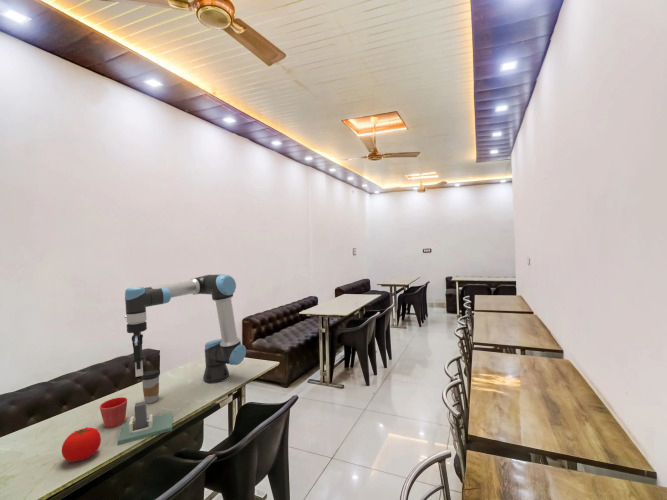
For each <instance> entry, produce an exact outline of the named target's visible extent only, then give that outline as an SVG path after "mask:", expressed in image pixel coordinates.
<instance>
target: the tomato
mask: <svg viewBox="0 0 667 500" xmlns="http://www.w3.org/2000/svg"><path fill="white" fill-rule="evenodd" d="M101 442H102V437H101V433H100V432H99V430H98V429H96V428H94V427H88V426H86V427H85V428H81V429H78V430H75V431H73V432H71V434H69V435H68V436H67V437H66V439H64V441H63V443H62V445H61V446H62V447H61V454H62V457H63V459H64V460H66V461H68V462H71V463H72V462H77V461H83V460H85V459H88V458H90V457H91V456H93V455H94V454H95V453H97V452H98V450H99V448H100V446H101Z"/></svg>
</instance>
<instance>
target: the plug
mask: <svg viewBox="0 0 667 500" xmlns="http://www.w3.org/2000/svg"><path fill="white" fill-rule="evenodd" d="M147 413H148V412H147V403H146V401H145V400H144V401H140V402H136V403H134V428H136V430H138V429H142V428H146V427H147V418H148V417H147V416H148V415H147Z"/></svg>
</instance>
